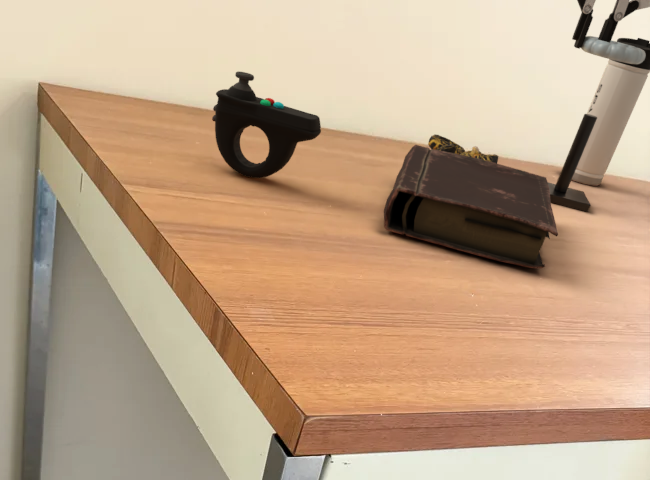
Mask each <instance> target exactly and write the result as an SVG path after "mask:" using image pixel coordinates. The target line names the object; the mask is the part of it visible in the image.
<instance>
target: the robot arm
mask: <svg viewBox="0 0 650 480" xmlns="http://www.w3.org/2000/svg"><path fill="white" fill-rule="evenodd" d="M576 1H577V4H578V6H579V8H580V12H581V13H580V15H579V18H578V20H577V23H576V27H575V30H574V32H573V34H572V38H571V39H572V40H573V41H574V44H573V47H574V48H575V49H579V50H580V49H581V48H582V45H583V43H584V40H585V37H586V36H588V32H589V31H590V30H589V29H590V27H591V25H592V21H593V19H594V16H593V14H594V13H593V12H594V6H595V3H596V2H597V0H576ZM647 8H650V0H616V1H615V3H614V6H613V8H612V12H611V13H609V16H608V17H607V18H606V19H605V20H604V22H603V25H602V27H601V30H600V32H599V35H598V39H599V40H602V41H606V42H609V43H610V42H611V40H612V39H613V36H614V34H615V32H616V29H617V27H618V24H619V22H620V21H622V20H623V19H625V18H626V17H628V16H629V15H630V14H632V13H634V12H635V11H637V10H643V9H647Z"/></svg>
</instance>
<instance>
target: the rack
mask: <svg viewBox="0 0 650 480" xmlns="http://www.w3.org/2000/svg"><path fill="white" fill-rule="evenodd" d="M596 120H597V117H596V116H593V115H590V114H587V113H584V114H583V117H582V119H581V121H580V124H579V126H578V128H577V131H576V134H575V136H574V139H573V142H572V144H571V146H570V149H569V151H568V154H567V156H566V159H565V160H564V164H563V166H562V168H561V170H560V172H559V176H558V177H557V180H556V183H552V182H548V181H547V182H548V186H549V190H550V200H551V204H556V205H559V206H562V207H566V208H570V209H574V210H578V211H582V212H586V213H588V212H589V211H590V208H591V206H592V205H591V203H590V201H589V198H588V197H587V195H586V193H585V191H583V190H579V189H575V188H572V187H570V185H571V182H572V181H573V180H572V178H573V175H574V173H575V170H576V168H577V166H578V163H579V161H580V158H581V156H582V154H583V151H584V149H585V146H586V144H587V142H588V139H589V137H590V134H591V132H592V130H593V127H594V125H595V122H596Z"/></svg>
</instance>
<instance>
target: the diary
mask: <svg viewBox="0 0 650 480" xmlns="http://www.w3.org/2000/svg"><path fill="white" fill-rule="evenodd" d="M383 227H384V229H385V231H387V232H391V233H395V234H400V235H405V236H406V237H410V238H414V239H417V240H420V241H424V242H428V243H430V244H431V243H432V244H435V245H437V246H438V245H439V246H442V247H445V248H446V247H447V248H450V249H453V250H457V251H459V252H464V253H467V254H471V255H475V256H479V257H481V258H486V259H490V260H492V261H497V262H501V263H505V264H511V265H516V266H520V267H525V268H529V269H543V268H545V267H546V264H543V260H542V255H541V252H540V251H541V249H542V247H543V244H544V241H545V240H546V238H547V239H549V240H550V239H551V237H550V234H551V235H553V236H555V237H558V236H559V232H558V227H557V223H556V219H555V216H554V211H553V207H552V203H551V200H550V190H549V186H548V180H547V177H546V176H542V175H539V174H536V173H533V172H528V171H525V170H523V169H518V168H515V167H512V166H507V165H503V164H500V163H498V162H497V163H493V162H489V161H486V160H482V159H478V158H473V157H469V156H464V155H459V154H455V153H450V152H445V151H440V150H435V149H431V148H430V147H426V146H423V145H418V144H414V145H413V146H412V147H411V148H410V149H409V150H408V152H407V153H406V155H405V156H404V159H403V163H402V166H401V168H400V169H399V172H398V173H397V175H396V177H395V181H394V184H393V187H392V190H391V191H390V193H389V195H388V197H387V199H386V202H385V205H384V209H383Z"/></svg>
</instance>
